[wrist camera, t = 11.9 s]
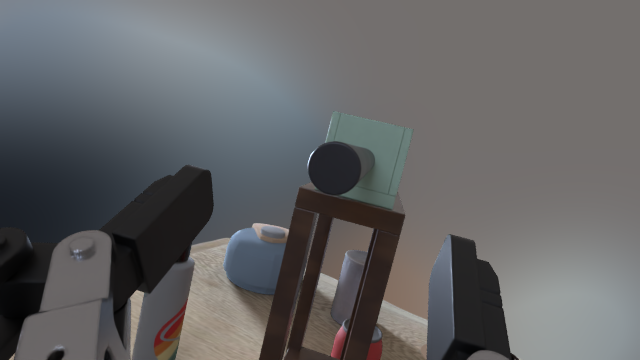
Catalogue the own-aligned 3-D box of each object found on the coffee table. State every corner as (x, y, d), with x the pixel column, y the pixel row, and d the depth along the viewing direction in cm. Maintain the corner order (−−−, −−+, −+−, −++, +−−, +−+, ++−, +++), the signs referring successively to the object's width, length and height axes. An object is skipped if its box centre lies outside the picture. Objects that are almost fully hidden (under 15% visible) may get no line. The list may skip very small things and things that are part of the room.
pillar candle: (351, 304, 84) (367, 243, 83) (383, 327, 77) (401, 260, 76) (320, 310, 78) (337, 244, 76) (352, 335, 71) (371, 263, 69)
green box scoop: (231, 230, 13) (268, 59, 12) (333, 179, 37) (347, 122, 37) (400, 279, 12) (450, 97, 11) (390, 194, 36) (406, 136, 36)
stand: (214, 551, 31) (299, 186, 27) (272, 416, 46) (330, 174, 43) (303, 591, 29) (405, 214, 26) (332, 438, 45) (398, 191, 42)
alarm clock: (311, 276, 95) (322, 233, 94) (284, 306, 76) (296, 251, 75) (246, 254, 100) (255, 212, 99) (205, 277, 81) (216, 225, 79)
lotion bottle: (183, 364, 52) (210, 231, 50) (144, 380, 47) (173, 234, 45) (161, 344, 55) (186, 218, 53) (123, 357, 50) (149, 220, 48)
